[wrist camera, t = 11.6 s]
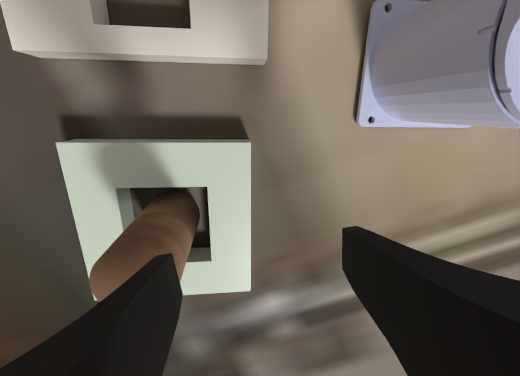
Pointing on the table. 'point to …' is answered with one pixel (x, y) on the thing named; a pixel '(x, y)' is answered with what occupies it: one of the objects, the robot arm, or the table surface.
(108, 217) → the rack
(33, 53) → the socket block
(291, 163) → the table surface
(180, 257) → the peg
